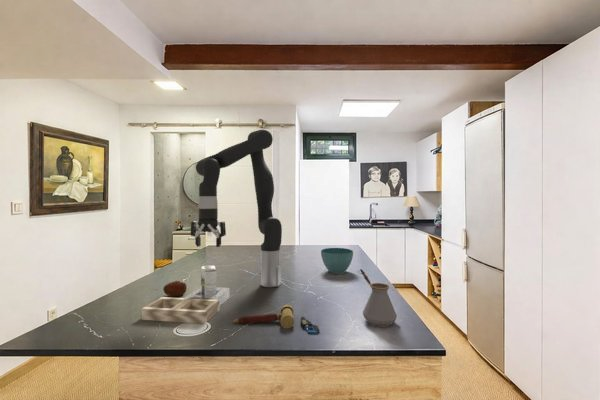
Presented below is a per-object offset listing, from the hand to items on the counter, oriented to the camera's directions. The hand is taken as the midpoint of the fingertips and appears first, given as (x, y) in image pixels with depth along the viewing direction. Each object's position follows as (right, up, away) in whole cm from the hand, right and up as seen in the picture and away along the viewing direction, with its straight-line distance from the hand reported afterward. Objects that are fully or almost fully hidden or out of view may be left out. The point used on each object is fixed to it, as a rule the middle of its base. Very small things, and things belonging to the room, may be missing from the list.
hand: (208, 246), depth 124 cm
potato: (-17, -23, +8) cm, 30 cm away
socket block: (0, -23, 0) cm, 23 cm away
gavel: (+25, -24, -19) cm, 40 cm away
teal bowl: (+59, -22, +47) cm, 78 cm away
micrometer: (+41, -24, -22) cm, 53 cm away
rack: (-6, -23, -13) cm, 27 cm away
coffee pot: (+65, -24, -15) cm, 70 cm away
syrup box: (0, -23, +1) cm, 23 cm away
